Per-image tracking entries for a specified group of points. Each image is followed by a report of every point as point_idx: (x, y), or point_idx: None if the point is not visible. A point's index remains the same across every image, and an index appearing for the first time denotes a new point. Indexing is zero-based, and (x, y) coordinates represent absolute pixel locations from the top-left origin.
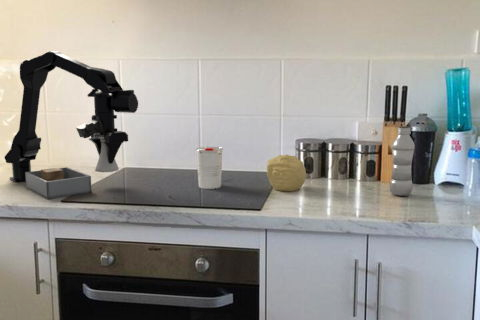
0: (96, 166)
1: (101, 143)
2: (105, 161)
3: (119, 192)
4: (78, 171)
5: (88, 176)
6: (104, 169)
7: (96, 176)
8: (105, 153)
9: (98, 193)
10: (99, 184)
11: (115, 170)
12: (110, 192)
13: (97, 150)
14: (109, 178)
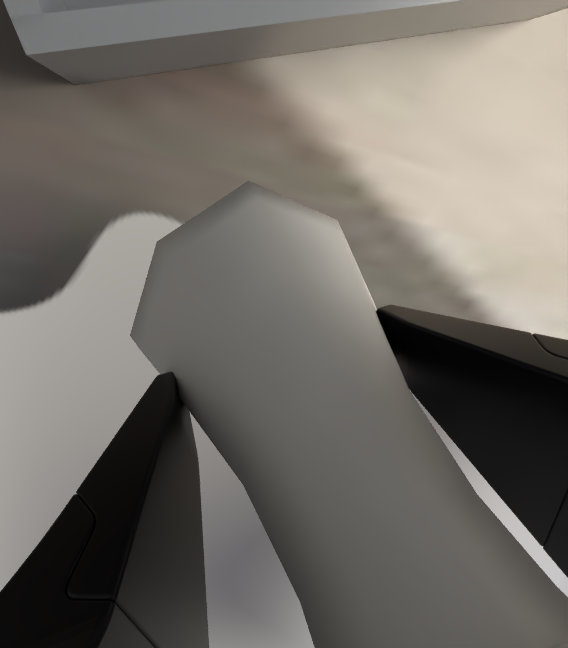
0: (261, 212)
1: (466, 569)
2: (193, 346)
3: (3, 303)
4: (407, 4)
5: (9, 10)
6: (158, 283)
7: (526, 255)
8: (250, 429)
9: (7, 134)
10: None
11: None
12: (23, 240)
13: (525, 336)
14: (439, 310)
